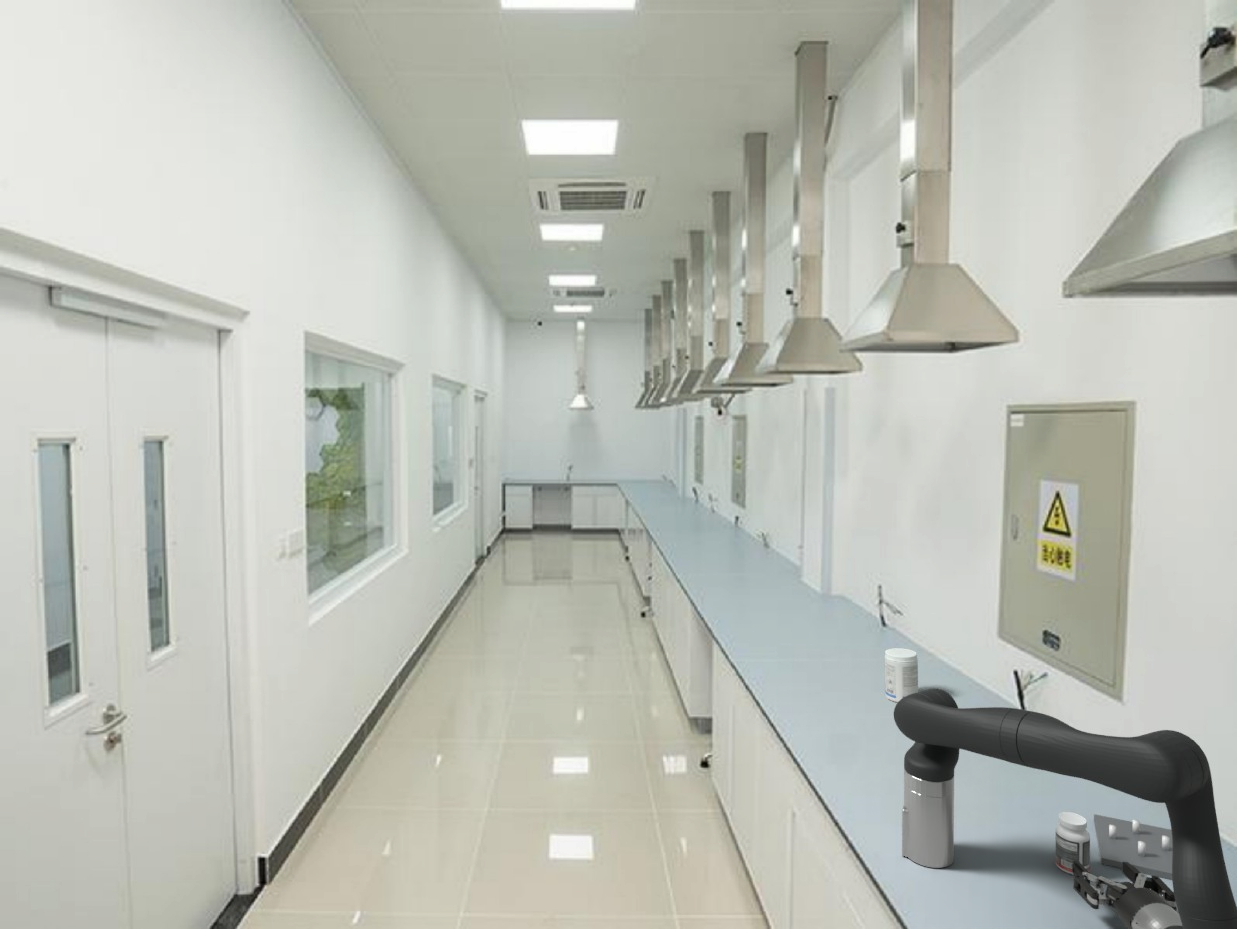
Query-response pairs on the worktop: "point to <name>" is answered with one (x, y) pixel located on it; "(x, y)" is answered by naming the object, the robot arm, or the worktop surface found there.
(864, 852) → the worktop surface
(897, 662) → the supplement tub
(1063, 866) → the pill bottle
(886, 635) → the worktop surface
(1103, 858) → the grey pegged board
